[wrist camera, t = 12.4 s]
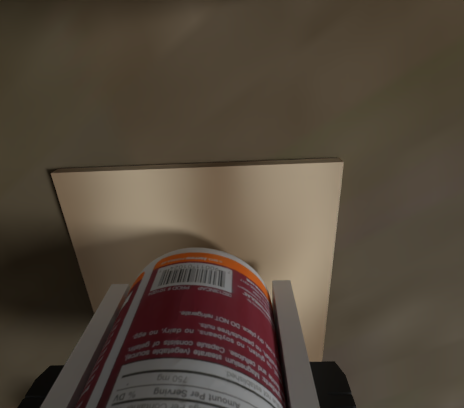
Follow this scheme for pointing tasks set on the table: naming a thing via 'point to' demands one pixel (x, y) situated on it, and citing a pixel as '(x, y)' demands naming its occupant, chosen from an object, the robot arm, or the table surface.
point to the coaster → (210, 223)
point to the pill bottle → (191, 339)
